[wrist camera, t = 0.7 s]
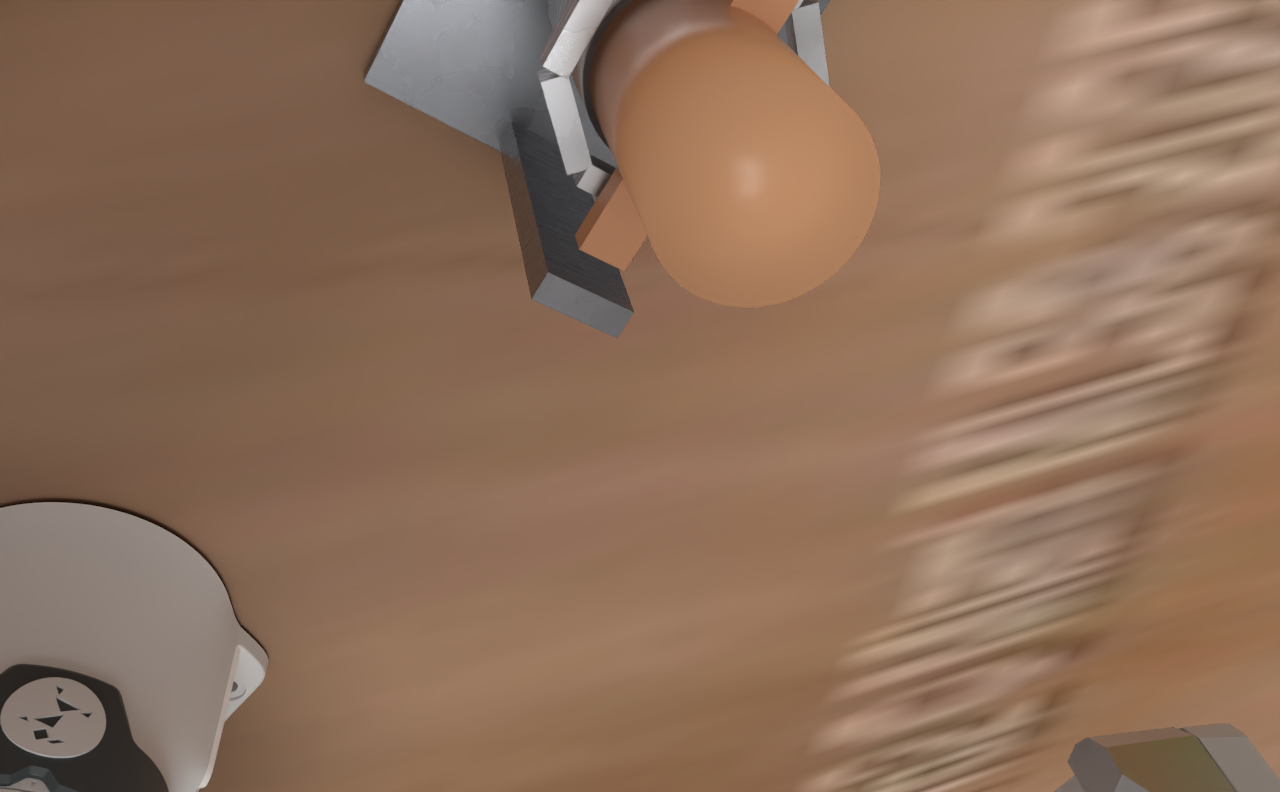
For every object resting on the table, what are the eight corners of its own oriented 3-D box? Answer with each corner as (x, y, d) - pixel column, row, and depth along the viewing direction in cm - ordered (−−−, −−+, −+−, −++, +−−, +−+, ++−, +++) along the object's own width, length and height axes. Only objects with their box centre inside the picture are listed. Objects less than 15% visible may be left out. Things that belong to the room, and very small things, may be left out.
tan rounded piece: (664, 264, 36) (731, 418, 29) (513, 189, 34) (544, 337, 27) (862, -36, 32) (1000, 54, 25) (705, -145, 30) (806, -81, 22)
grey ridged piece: (668, 229, 48) (753, 409, 36) (364, 73, 42) (351, 228, 31) (879, -94, 42) (1059, -1, 31) (559, -328, 36) (635, -322, 25)
